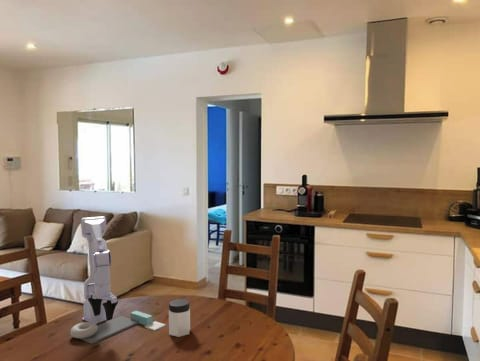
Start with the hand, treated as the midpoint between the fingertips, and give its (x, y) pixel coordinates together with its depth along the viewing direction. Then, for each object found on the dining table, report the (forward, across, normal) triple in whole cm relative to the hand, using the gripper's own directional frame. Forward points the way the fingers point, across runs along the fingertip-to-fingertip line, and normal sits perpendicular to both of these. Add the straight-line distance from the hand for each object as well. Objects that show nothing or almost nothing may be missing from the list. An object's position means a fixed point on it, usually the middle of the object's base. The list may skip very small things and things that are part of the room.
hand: (103, 317), depth 151 cm
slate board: (+8, -4, +5) cm, 10 cm away
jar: (+8, +21, +20) cm, 30 cm away
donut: (+5, -2, -3) cm, 7 cm away
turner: (+8, +4, +18) cm, 20 cm away
